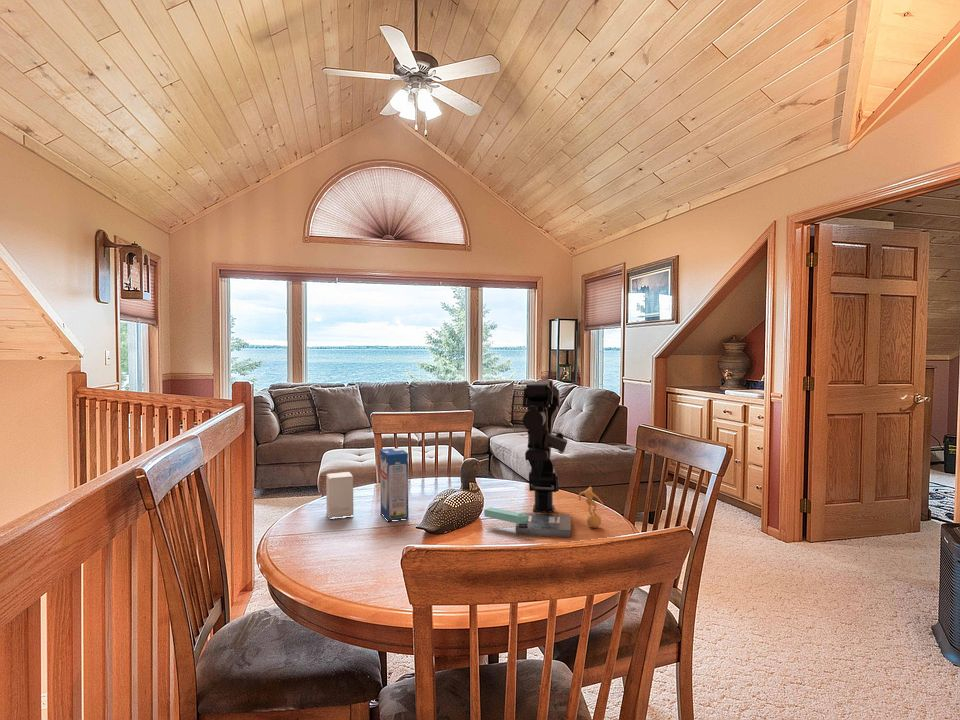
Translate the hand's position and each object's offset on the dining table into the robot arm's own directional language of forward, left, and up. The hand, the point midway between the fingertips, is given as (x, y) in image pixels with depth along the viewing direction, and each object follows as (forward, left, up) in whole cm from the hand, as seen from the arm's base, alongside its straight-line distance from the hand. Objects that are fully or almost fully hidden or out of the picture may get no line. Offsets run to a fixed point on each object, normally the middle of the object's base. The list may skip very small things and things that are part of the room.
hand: (538, 478), depth 159 cm
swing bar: (+8, -9, -10) cm, 15 cm away
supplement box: (+1, -61, -13) cm, 62 cm away
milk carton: (0, -44, -13) cm, 46 cm away
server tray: (+5, +2, -13) cm, 14 cm away
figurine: (+4, +15, -13) cm, 20 cm away
